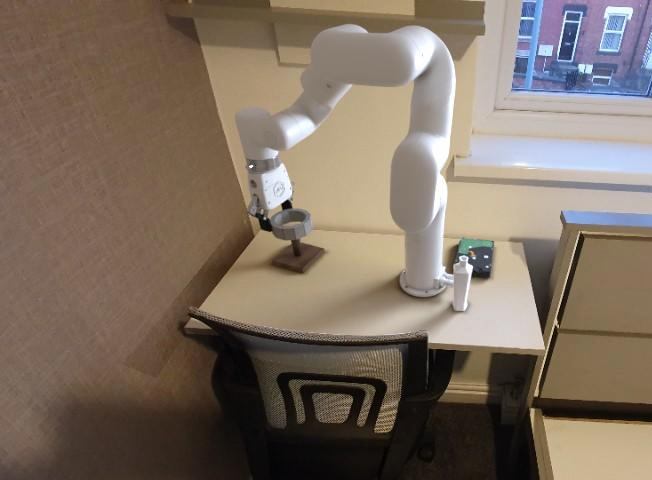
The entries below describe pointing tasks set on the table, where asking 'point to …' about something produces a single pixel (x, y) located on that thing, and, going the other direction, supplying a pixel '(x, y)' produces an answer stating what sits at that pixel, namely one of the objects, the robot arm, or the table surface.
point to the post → (298, 256)
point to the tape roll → (291, 231)
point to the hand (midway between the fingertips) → (278, 221)
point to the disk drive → (477, 255)
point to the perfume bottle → (461, 283)
